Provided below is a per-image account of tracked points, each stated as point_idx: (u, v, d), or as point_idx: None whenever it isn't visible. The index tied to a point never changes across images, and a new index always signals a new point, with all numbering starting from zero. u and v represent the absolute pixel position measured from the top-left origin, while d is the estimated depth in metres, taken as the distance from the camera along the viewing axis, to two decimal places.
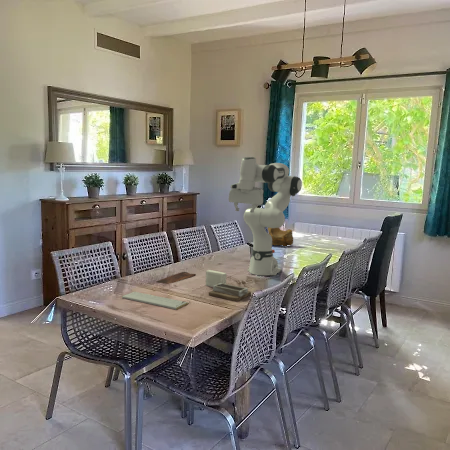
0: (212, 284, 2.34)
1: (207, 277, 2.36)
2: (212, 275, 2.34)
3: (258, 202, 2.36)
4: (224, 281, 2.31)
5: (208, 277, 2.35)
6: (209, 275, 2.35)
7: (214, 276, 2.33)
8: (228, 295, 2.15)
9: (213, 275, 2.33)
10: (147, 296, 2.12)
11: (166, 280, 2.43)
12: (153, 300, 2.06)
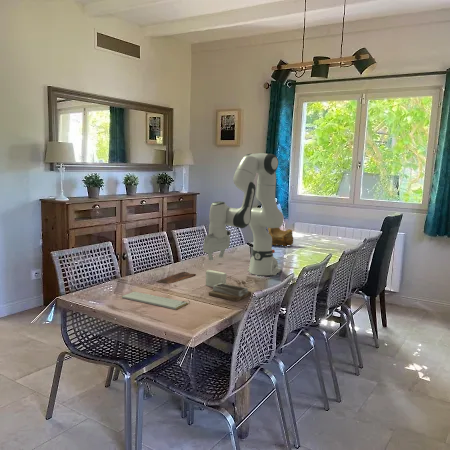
0: (212, 284, 2.34)
1: (207, 277, 2.36)
2: (212, 275, 2.34)
3: None
4: (224, 281, 2.31)
5: (208, 277, 2.35)
6: (209, 275, 2.35)
7: (214, 276, 2.33)
8: (228, 295, 2.15)
9: (213, 275, 2.33)
10: (147, 296, 2.12)
11: (166, 280, 2.43)
12: (153, 300, 2.06)
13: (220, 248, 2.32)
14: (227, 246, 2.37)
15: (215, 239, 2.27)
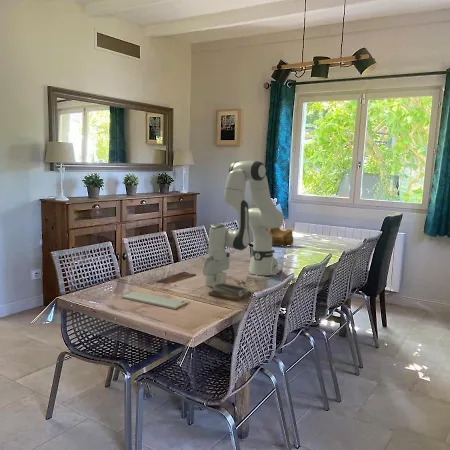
0: (212, 284, 2.34)
1: (207, 277, 2.36)
2: None
3: None
4: (224, 281, 2.31)
5: (208, 277, 2.35)
6: None
7: (214, 276, 2.33)
8: (228, 295, 2.15)
9: None
10: (147, 296, 2.12)
11: (166, 280, 2.43)
12: (153, 300, 2.06)
13: (220, 270, 2.34)
14: (227, 267, 2.39)
15: (214, 262, 2.29)
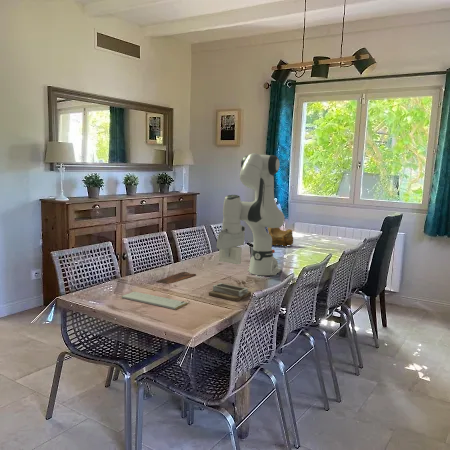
0: (226, 259, 2.18)
1: (220, 252, 2.20)
2: None
3: None
4: (239, 256, 2.15)
5: (222, 252, 2.19)
6: None
7: None
8: (228, 295, 2.15)
9: None
10: (147, 296, 2.12)
11: (166, 280, 2.43)
12: (152, 300, 2.06)
13: (234, 245, 2.18)
14: (241, 242, 2.23)
15: (229, 235, 2.13)
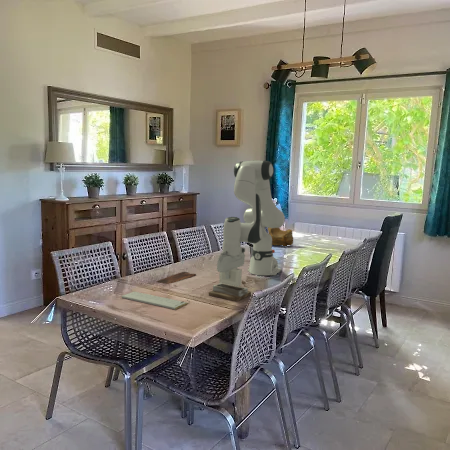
0: (226, 281, 2.19)
1: (221, 274, 2.21)
2: None
3: None
4: (239, 278, 2.16)
5: (222, 273, 2.20)
6: None
7: None
8: (228, 295, 2.15)
9: None
10: (147, 296, 2.12)
11: (166, 280, 2.43)
12: (152, 300, 2.06)
13: (234, 266, 2.19)
14: (242, 264, 2.24)
15: (229, 257, 2.14)
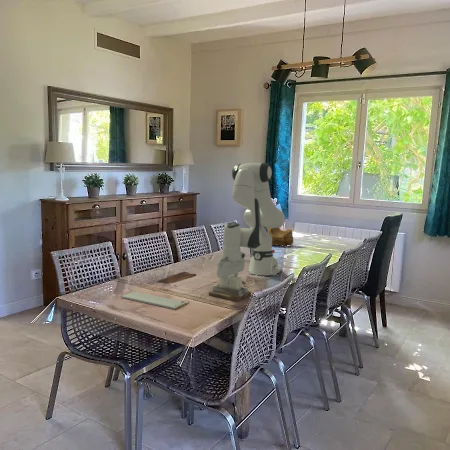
0: None
1: (221, 282, 2.21)
2: None
3: None
4: (239, 286, 2.17)
5: (222, 282, 2.21)
6: (223, 279, 2.20)
7: (228, 280, 2.19)
8: (228, 295, 2.15)
9: (228, 279, 2.19)
10: (146, 296, 2.12)
11: (166, 280, 2.43)
12: (152, 300, 2.06)
13: (234, 272, 2.19)
14: (242, 269, 2.25)
15: (229, 263, 2.14)
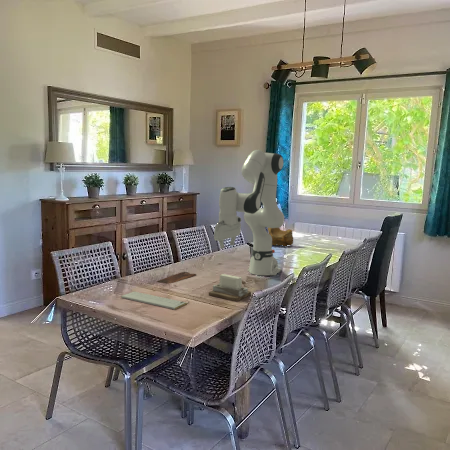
0: None
1: (221, 282, 2.21)
2: (226, 280, 2.19)
3: None
4: (239, 286, 2.17)
5: (222, 282, 2.21)
6: (223, 279, 2.20)
7: (228, 280, 2.19)
8: (228, 295, 2.15)
9: (228, 279, 2.19)
10: (146, 296, 2.12)
11: (166, 280, 2.43)
12: (152, 300, 2.06)
13: (231, 235, 2.23)
14: (238, 233, 2.29)
15: (226, 226, 2.18)
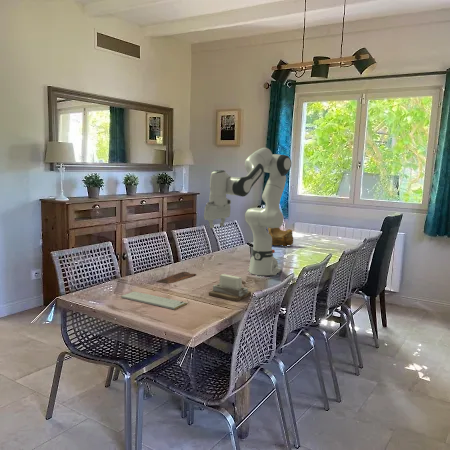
0: None
1: (221, 282, 2.21)
2: (226, 280, 2.19)
3: None
4: (239, 286, 2.17)
5: (222, 282, 2.21)
6: (223, 279, 2.20)
7: (228, 280, 2.19)
8: (228, 295, 2.15)
9: (228, 279, 2.19)
10: (146, 296, 2.12)
11: (166, 280, 2.43)
12: (152, 300, 2.06)
13: (221, 216, 2.35)
14: (227, 215, 2.40)
15: (216, 207, 2.30)
